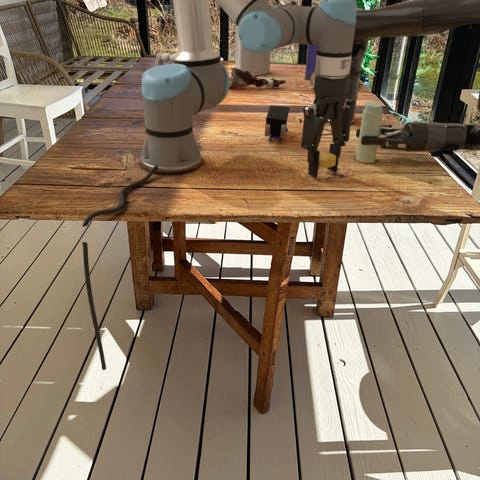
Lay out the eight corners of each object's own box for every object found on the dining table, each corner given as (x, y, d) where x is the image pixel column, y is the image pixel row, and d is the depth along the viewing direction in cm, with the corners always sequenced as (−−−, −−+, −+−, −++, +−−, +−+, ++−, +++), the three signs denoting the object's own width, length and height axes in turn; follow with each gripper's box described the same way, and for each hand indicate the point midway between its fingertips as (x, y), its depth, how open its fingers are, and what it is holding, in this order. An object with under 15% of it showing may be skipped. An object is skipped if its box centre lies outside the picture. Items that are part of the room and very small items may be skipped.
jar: (354, 161, 126) (362, 105, 118) (357, 155, 130) (366, 100, 122) (373, 164, 124) (382, 107, 117) (376, 157, 128) (385, 102, 121)
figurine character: (286, 149, 136) (289, 127, 148) (287, 124, 131) (290, 104, 143) (262, 148, 137) (267, 126, 149) (263, 123, 132) (268, 103, 144)
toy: (175, 75, 210) (174, 58, 206) (151, 64, 228) (150, 49, 224) (222, 69, 222) (222, 53, 218) (195, 59, 239) (195, 45, 236)
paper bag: (273, 76, 210) (276, 6, 196) (239, 77, 209) (240, 6, 194) (266, 67, 226) (268, 2, 212) (235, 67, 225) (235, 1, 210)
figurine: (210, 87, 179) (288, 95, 182) (212, 65, 176) (291, 73, 180) (208, 84, 201) (278, 91, 205) (210, 64, 198) (280, 71, 202)
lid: (339, 166, 114) (339, 159, 113) (317, 168, 113) (317, 161, 112) (329, 158, 119) (330, 151, 118) (308, 160, 118) (309, 153, 117)
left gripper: (310, 83, 98) (302, 186, 110) (374, 73, 107) (361, 170, 119) (288, 76, 104) (283, 175, 116) (351, 67, 112) (340, 160, 124)
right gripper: (417, 114, 128) (354, 114, 128) (437, 131, 116) (368, 131, 116) (411, 141, 132) (350, 141, 132) (430, 160, 120) (363, 160, 120)
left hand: (322, 172), depth 117 cm, fingers closed on lid, 6 cm apart
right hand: (359, 136), depth 124 cm, fingers closed on jar, 5 cm apart
